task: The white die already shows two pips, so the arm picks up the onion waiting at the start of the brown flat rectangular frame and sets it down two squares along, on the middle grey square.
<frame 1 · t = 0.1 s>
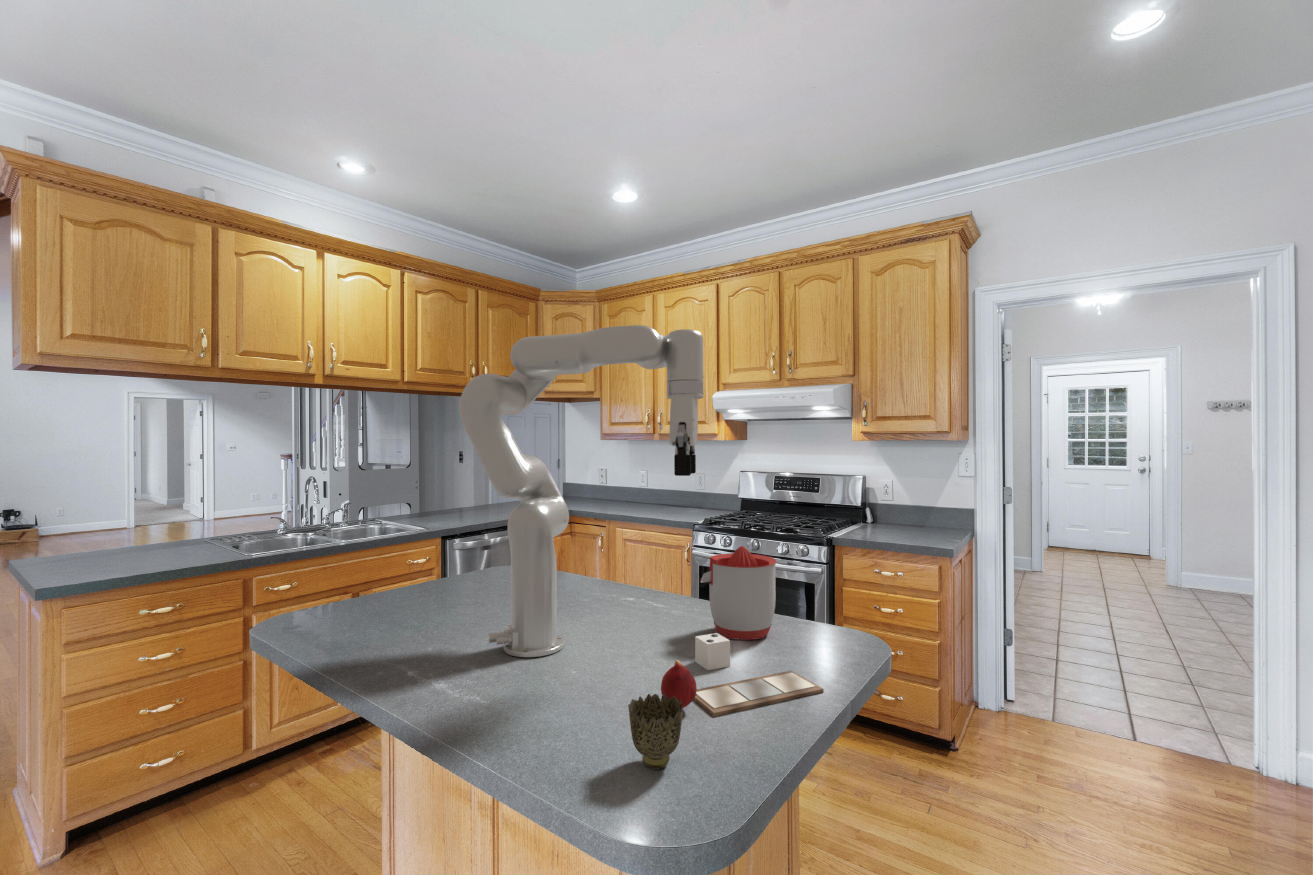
hand: (685, 474, 118), 37 cm above the countertop, tool pointing down, fingers open, 9 cm apart
citrus juicer: (738, 633, 133), on the countertop
die: (712, 663, 114), on the countertop
brown flat rectangular frame: (755, 693, 100), on the countertop
onion: (678, 711, 94), on the countertop
cup: (655, 765, 78), on the countertop
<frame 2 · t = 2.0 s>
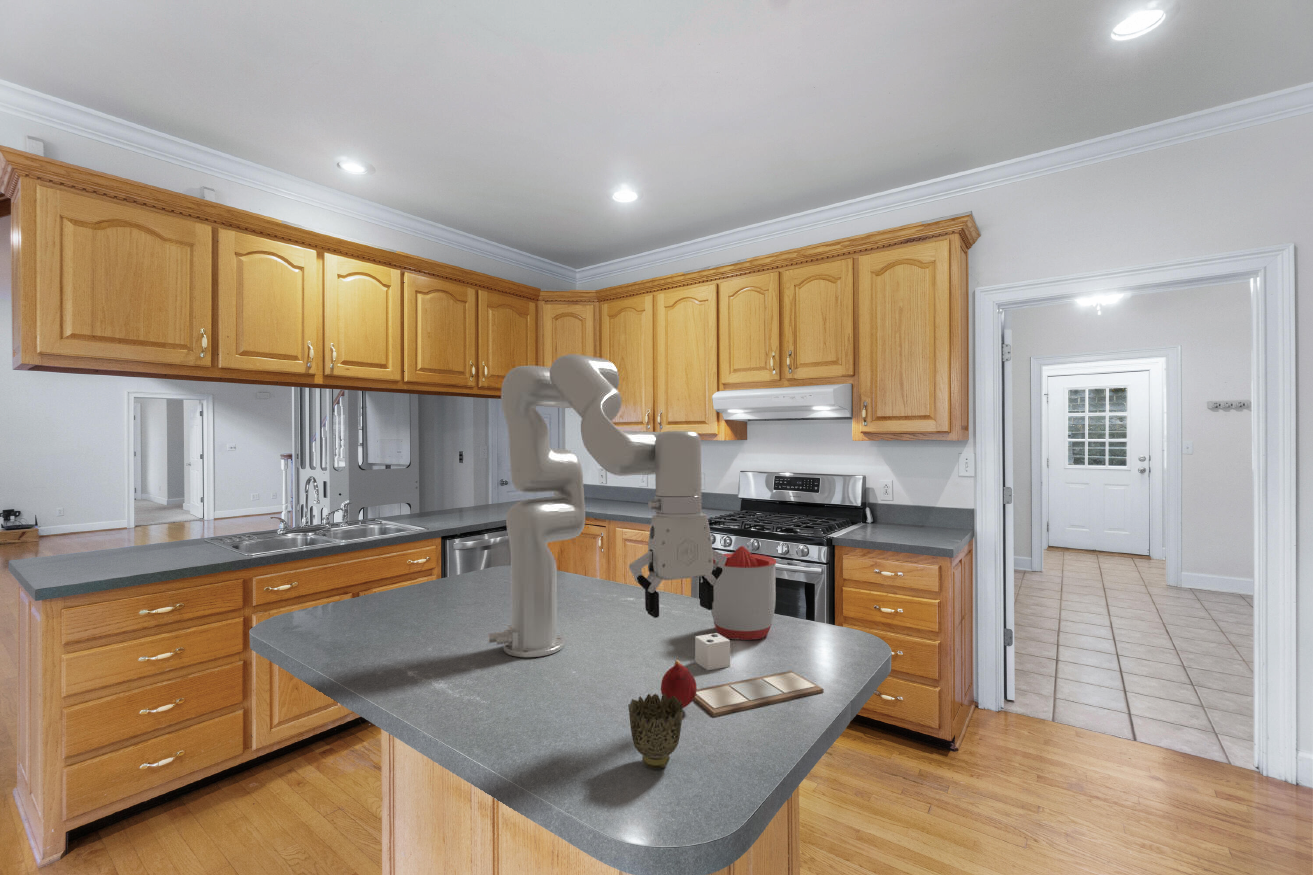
hand: (680, 611, 94), 16 cm above the countertop, tool pointing down, fingers open, 9 cm apart
nothing on the countertop moved.
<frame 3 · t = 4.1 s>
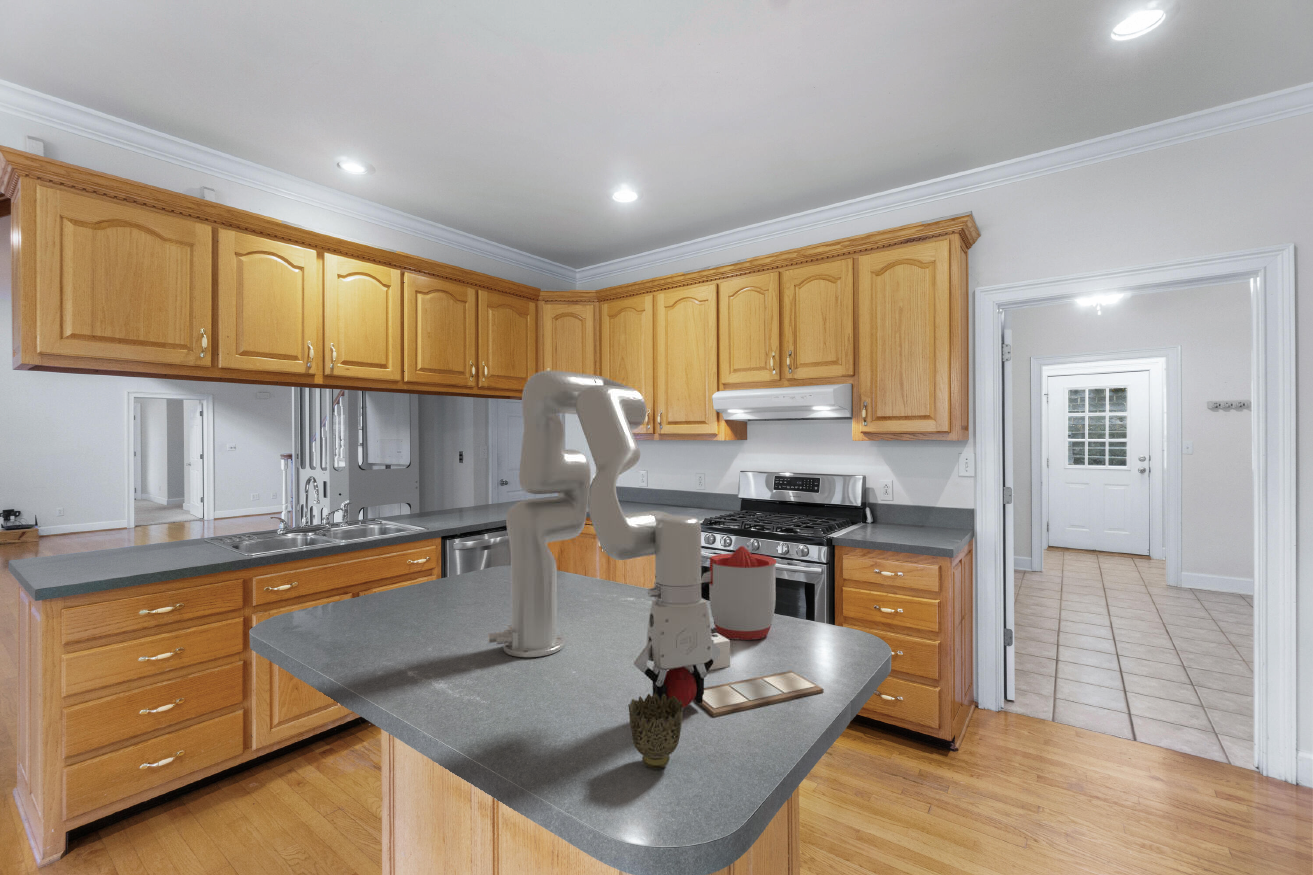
hand: (678, 702, 94), 1 cm above the countertop, tool pointing down, fingers closed on onion, 5 cm apart
onion: (678, 711, 94), on the countertop, touching gripper
everything else where it was.
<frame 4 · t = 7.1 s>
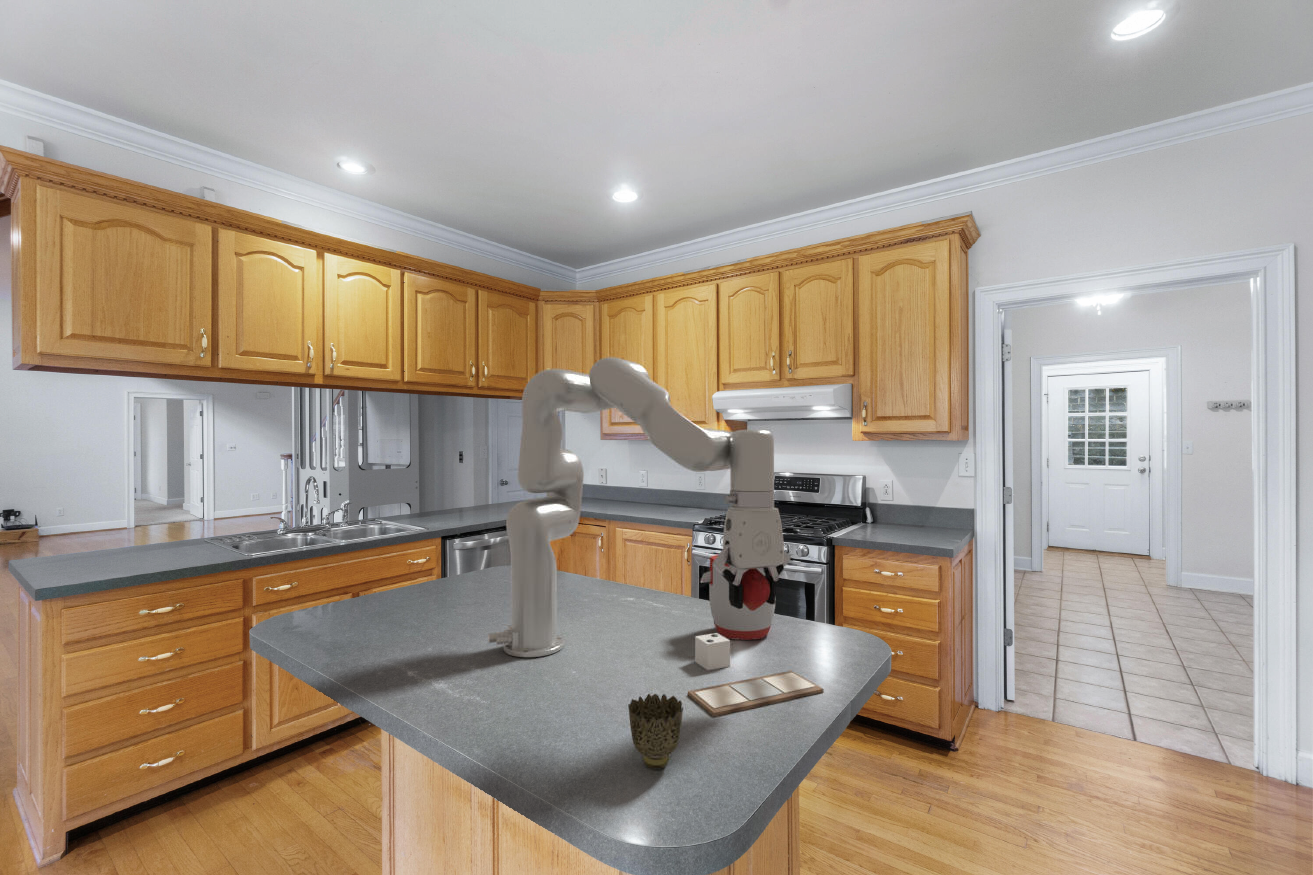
hand: (752, 603, 100), 16 cm above the countertop, tool pointing down, fingers closed on onion, 5 cm apart
onion: (752, 611, 100), point 14 cm above the countertop, touching gripper
everything else where it was.
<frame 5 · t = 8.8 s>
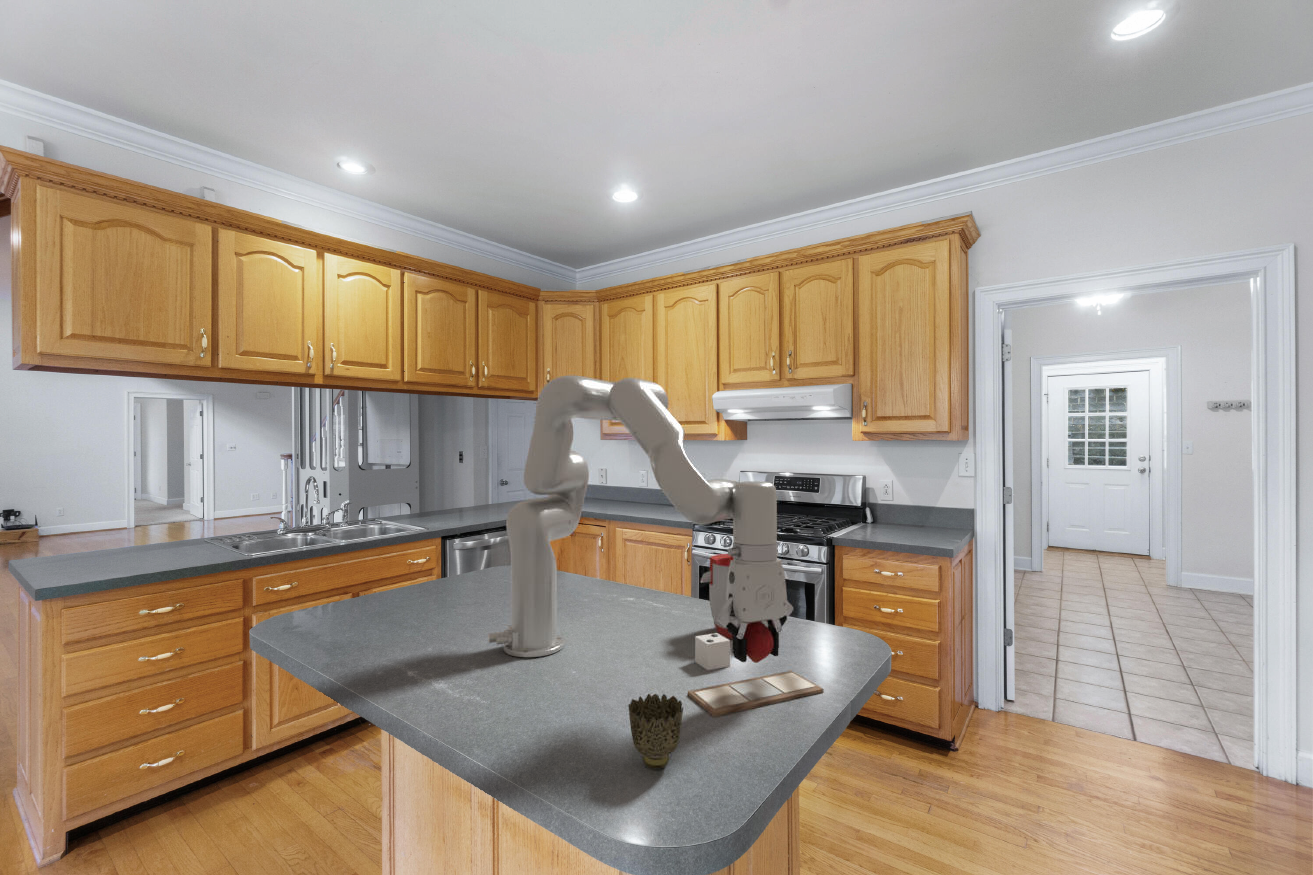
hand: (756, 655, 100), 7 cm above the countertop, tool pointing down, fingers closed on onion, 5 cm apart
onion: (756, 663, 100), point 5 cm above the countertop, touching gripper
everything else where it was.
when the fingers open (3 cm above the countertop, at t = 10.4 s): onion stays where it is, resting on brown flat rectangular frame.
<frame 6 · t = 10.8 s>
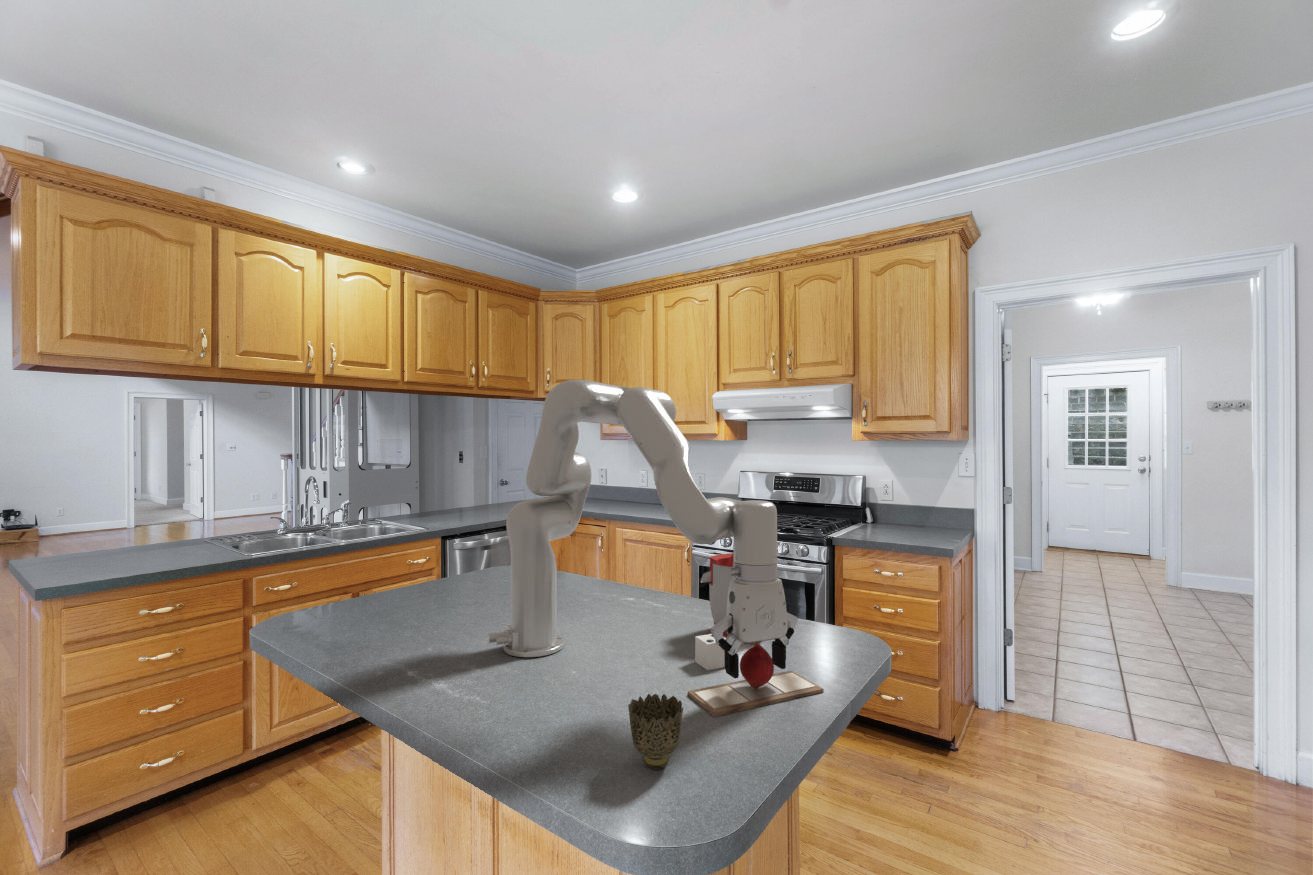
hand: (755, 670, 100), 4 cm above the countertop, tool pointing down, fingers open, 9 cm apart
onion: (755, 689, 100), point 1 cm above the countertop, touching brown flat rectangular frame
everything else where it was.
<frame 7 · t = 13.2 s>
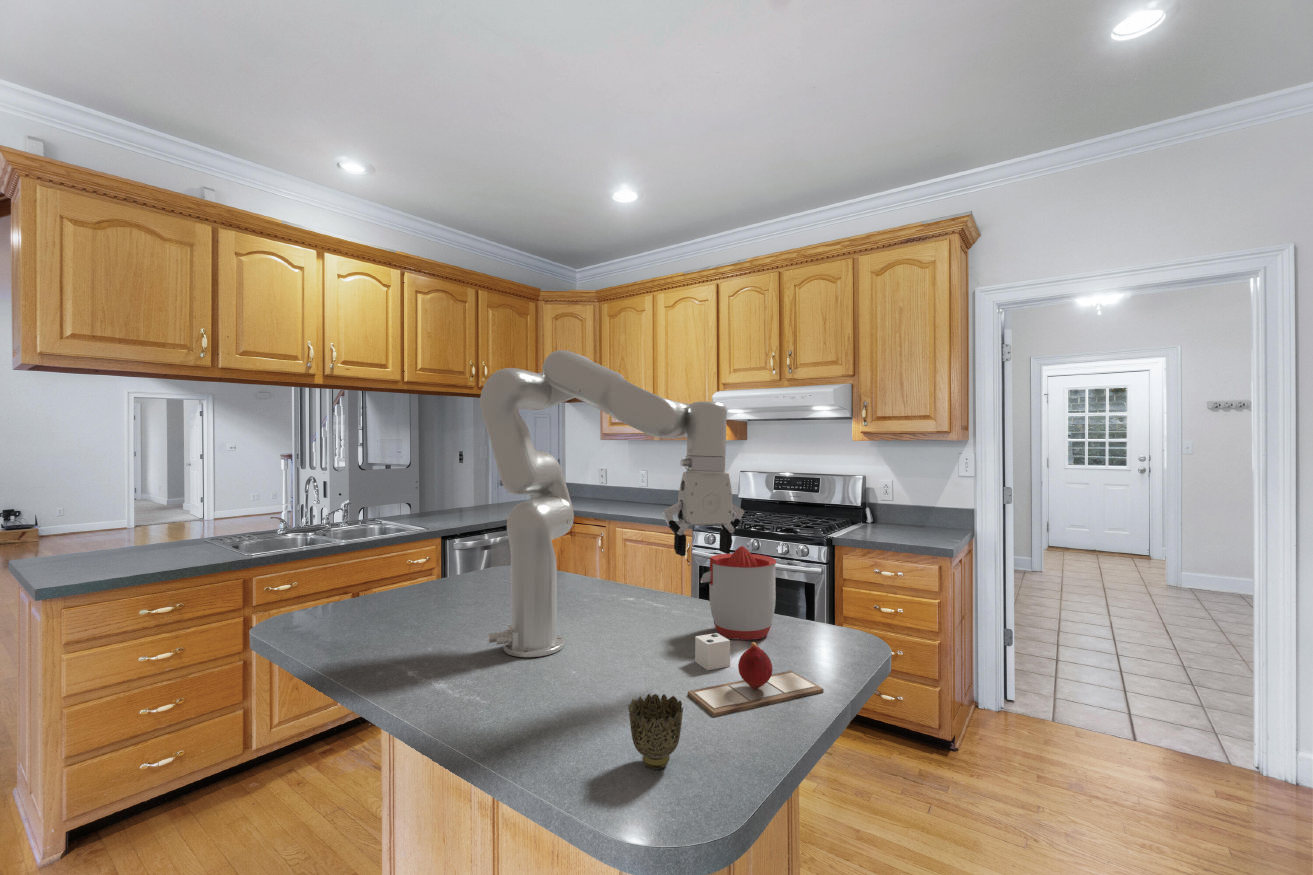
hand: (702, 553, 112), 22 cm above the countertop, tool pointing down, fingers open, 9 cm apart
nothing on the countertop moved.
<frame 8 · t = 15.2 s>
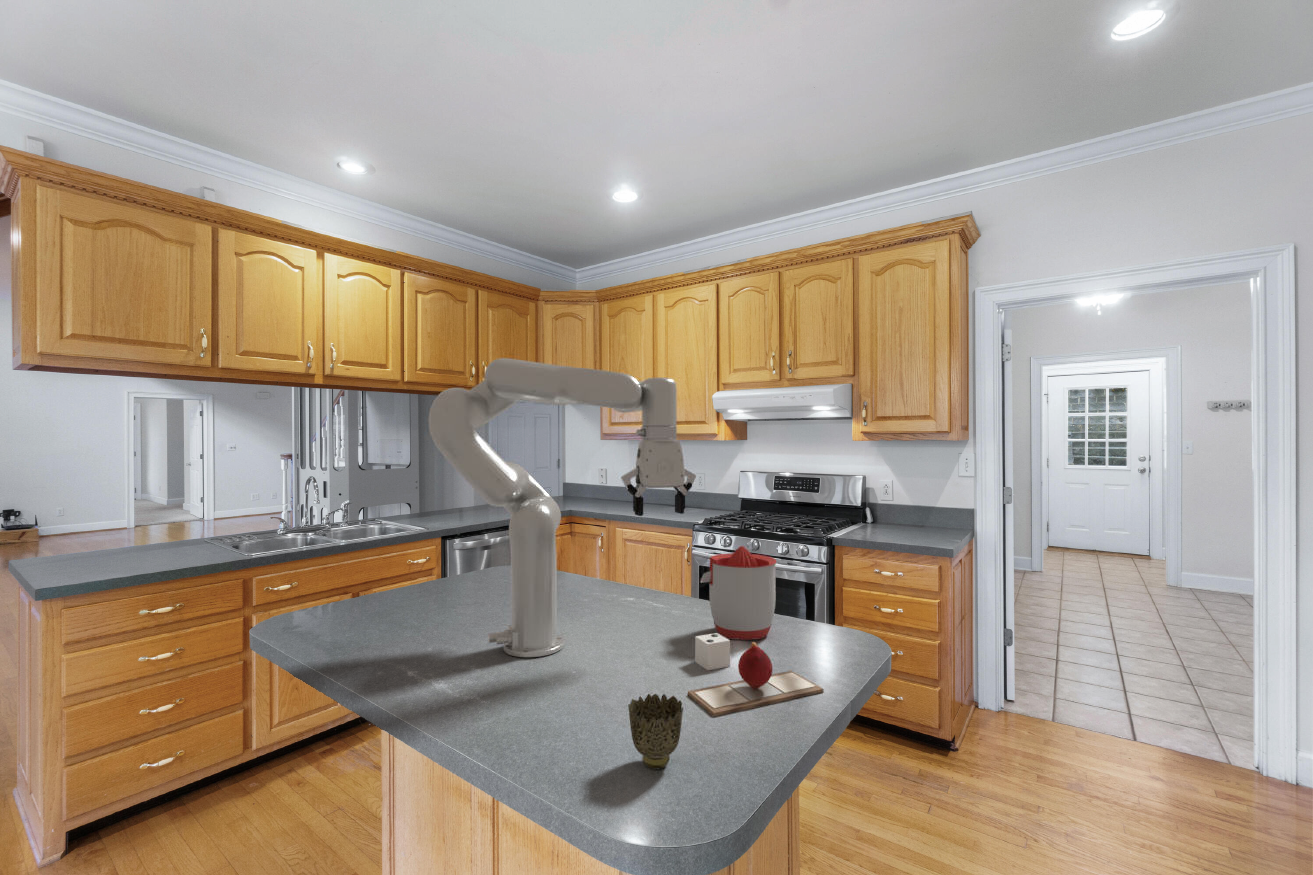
hand: (659, 514, 125), 28 cm above the countertop, tool pointing down, fingers open, 9 cm apart
nothing on the countertop moved.
at the end: onion 0.1 cm off-centre on the brown flat rectangular frame, point 0.5 cm above the brown flat rectangular frame's base; the gripper is holding nothing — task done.
